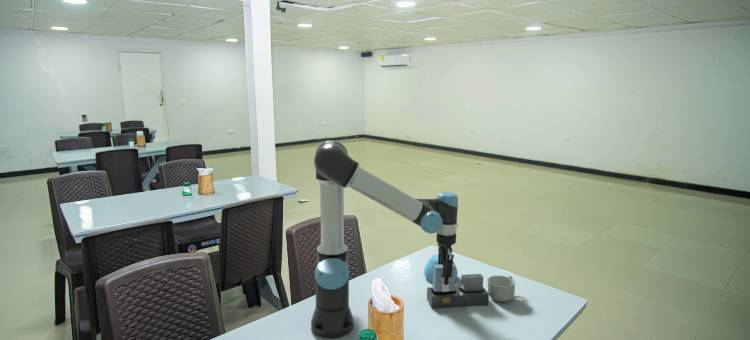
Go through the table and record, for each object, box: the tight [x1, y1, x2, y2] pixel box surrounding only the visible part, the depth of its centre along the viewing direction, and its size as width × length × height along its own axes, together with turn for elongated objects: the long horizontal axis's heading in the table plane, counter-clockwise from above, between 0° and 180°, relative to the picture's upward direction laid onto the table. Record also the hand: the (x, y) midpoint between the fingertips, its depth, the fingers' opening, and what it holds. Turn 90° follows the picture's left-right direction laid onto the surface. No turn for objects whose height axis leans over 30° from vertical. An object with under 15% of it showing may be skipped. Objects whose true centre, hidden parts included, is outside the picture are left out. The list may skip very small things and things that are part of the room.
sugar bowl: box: [423, 254, 459, 283], centre depth 185 cm, size 15×15×12 cm
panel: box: [432, 264, 457, 292], centre depth 162 cm, size 8×3×10 cm, turn 97°
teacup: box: [487, 275, 516, 303], centre depth 168 cm, size 14×11×8 cm
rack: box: [426, 273, 490, 309], centre depth 163 cm, size 23×8×11 cm, turn 97°
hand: (443, 288), depth 162 cm, fingers closed on panel, 3 cm apart
